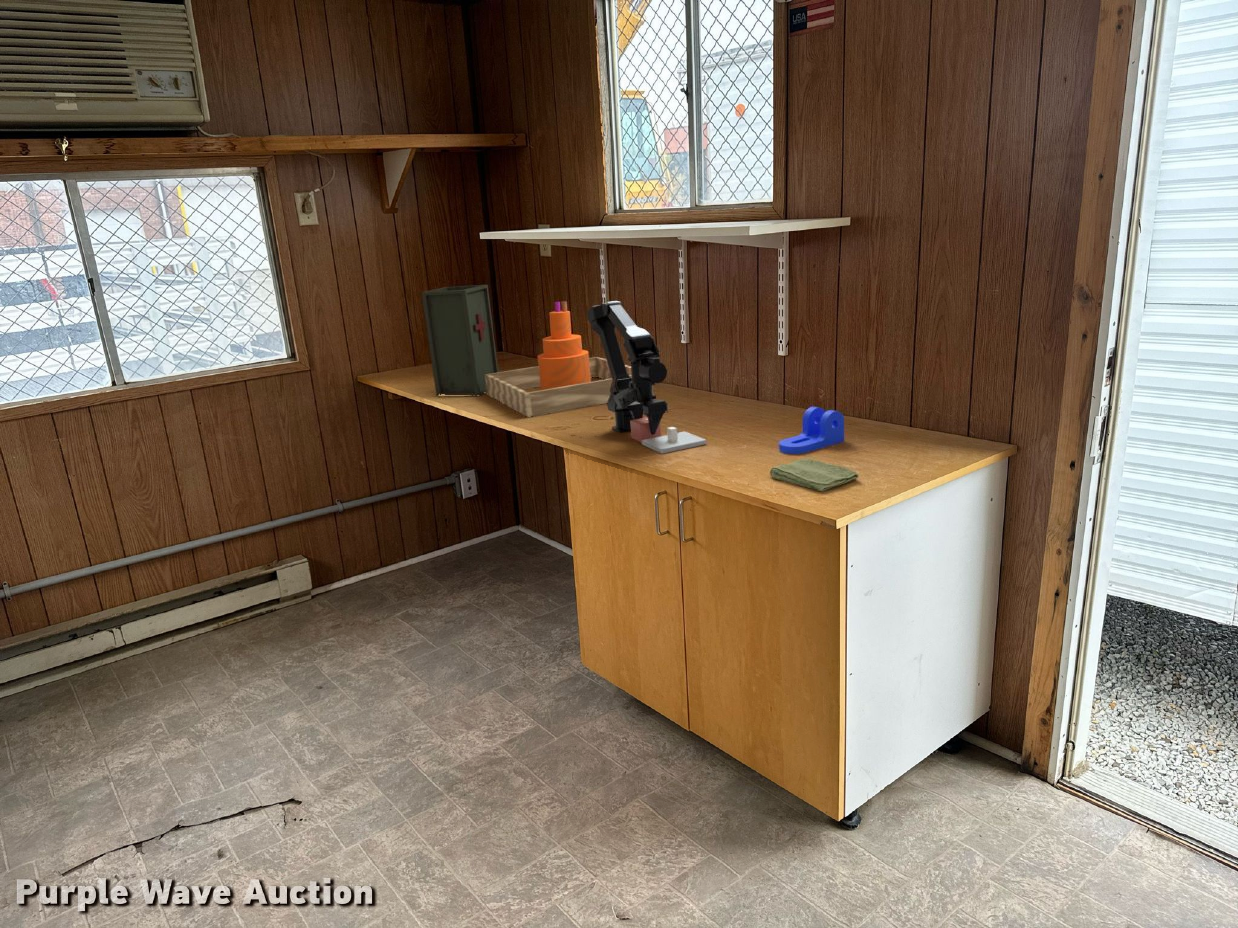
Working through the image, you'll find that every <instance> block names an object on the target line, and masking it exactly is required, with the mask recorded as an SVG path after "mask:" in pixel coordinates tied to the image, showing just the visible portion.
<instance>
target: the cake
mask: <svg viewBox="0 0 1238 928" xmlns="http://www.w3.org/2000/svg"><path fill="white" fill-rule="evenodd" d="M567 303H568V302H567V301H561V302H560V301H555V302H554V309H555V311H551V312H549V313H548V314H549V326H550V336H547V337H544V338H542V348H543V353H540V354H538V355H537V362H538V363H537V364H538V366H539V375H540V384H541V387H540V390H546V389H552V388H558V387H564V386H570V385H576V384H581V383H587V382H592V378H591V376H590V365H589V358H590V356H589V351H588V350H586V349H583V346H582V345H583V344H582V336H581V335H580V334H573V333H572V324H571V322H572V321H571V311H569V310H568V304H567Z"/></svg>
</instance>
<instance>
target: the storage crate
mask: <svg viewBox="0 0 1238 928" xmlns="http://www.w3.org/2000/svg"><path fill="white" fill-rule="evenodd" d="M589 365H590V376H591V379H593V378H592V377H596V376H598V377H599V378H598V379H599V380H594V381H591V382H587V383H581V384H576V385H570V386H564V387H558V388H552V389H546V390H541V389H540V390H535V391H530V392H527V391H526V390H530V389H535V388H534V387H538V388H541V384H540V375H539V366H537V365H536V366H530V367H524V368H518V369H517V368H516V369H512V370H511V369H510V370H506V371H498V373H491V374H485V381H486V389H487V393H486V395H487V396H488V395H489V396H488V397H490V396H492V397H493V398H495V399H497V400H498V401H497V400H496V401H497V402H499V401H500V402H499V403H501V402H502V403H501V404H503V405H504V404H506V405H507V406H506V405H505V406H506V407H508V406H509V407H508V408H510V407H511V408H510V409H512V410H514V411H515V410H516V411H515V412H517V413H520V414H521V413H522V415H523V416H525V417H526V416H527V417H526V418H531V416H533V417H538V416H543V415H549V414H548V413H550V414H553V413H561V412H565V411H572V410H577V409H582V408H587V407H592V406H597V405H604V404H607V402H608V399H609V397H610V394H611V393H610V387H611V384H612V376H611V373H610V370H609V366H608V363H607V359H606V358H602V357H599V356H594V357H589ZM625 367H626V370H627V374H628V375H629V376H630V377H631V378H632V375H631V365H627V364H625ZM600 378H602V379H600ZM603 379H604V380H603ZM525 389H526V390H525ZM492 397H491V398H492ZM493 398H492V399H493ZM495 399H494V400H495Z"/></svg>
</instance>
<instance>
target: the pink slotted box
mask: <svg viewBox="0 0 1238 928" xmlns="http://www.w3.org/2000/svg"><path fill="white" fill-rule="evenodd" d="M630 424H631V430H630V434H631V435H630V436H631V439H633V440H635V441H638V442H640V443H641V444H642V440H645V439H650V438H655V437H660V436H662V429H661V428H662V427H661V422H660V423H659V425H658V428H657V430H656V433H655V434H653V435H652V434H651V432H650V427H649V422H648V417H647V416H645V417H643V418H640V419H634V420H630Z"/></svg>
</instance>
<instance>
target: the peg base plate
mask: <svg viewBox="0 0 1238 928" xmlns="http://www.w3.org/2000/svg"><path fill="white" fill-rule="evenodd" d="M666 430H667V431H666V432H667V433H666V435H665V434H664V435H661V436H660V437H655V438H650V439H645V440H642V443H641V445H642V446H644V447H647V448H649V449H651V450H653V451H655V452H657V453H660V454H661V455H663V454H667V453H671V452H676V451H681V450H685V449H691V448H695V447H699V446H704V445H707V439H705V438H703V437H700V436H698V435H695V434H692V433H690V432H688V431H679V432H678V428H677V427H674V426H669V427H666Z"/></svg>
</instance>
